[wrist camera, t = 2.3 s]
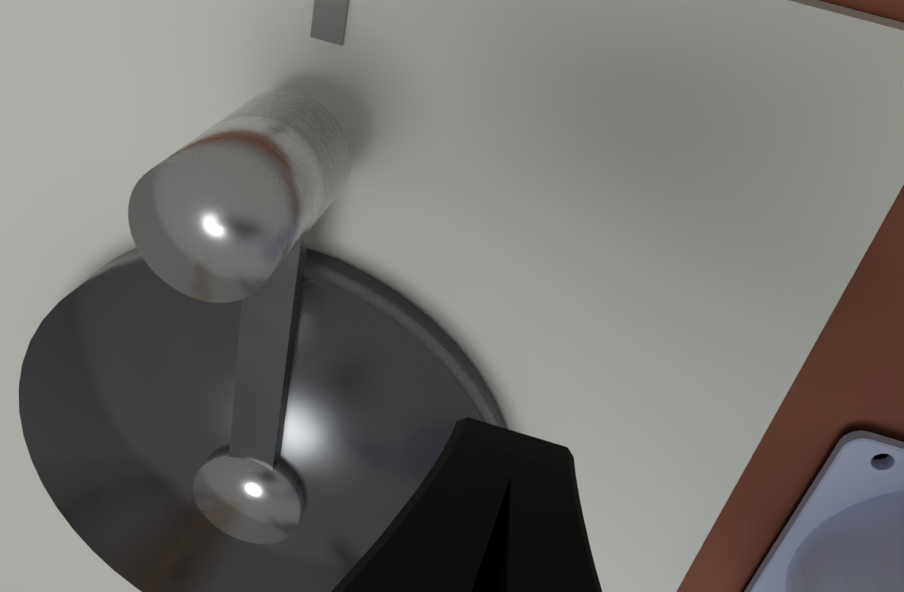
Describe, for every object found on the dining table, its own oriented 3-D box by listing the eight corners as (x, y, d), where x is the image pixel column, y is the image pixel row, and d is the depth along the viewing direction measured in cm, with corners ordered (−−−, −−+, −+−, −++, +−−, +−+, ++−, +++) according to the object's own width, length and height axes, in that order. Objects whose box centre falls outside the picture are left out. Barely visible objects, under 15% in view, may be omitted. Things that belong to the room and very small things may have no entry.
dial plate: (961, 37, 16) (980, 51, 15) (557, 780, 30) (554, 810, 30) (-261, -282, 17) (-312, -288, 16) (-76, 565, 32) (-98, 587, 31)
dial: (457, 671, 27) (416, 847, 22) (62, 540, 28) (-55, 682, 23) (640, 162, 17) (634, 290, 12) (20, -11, 18) (-195, 47, 13)
